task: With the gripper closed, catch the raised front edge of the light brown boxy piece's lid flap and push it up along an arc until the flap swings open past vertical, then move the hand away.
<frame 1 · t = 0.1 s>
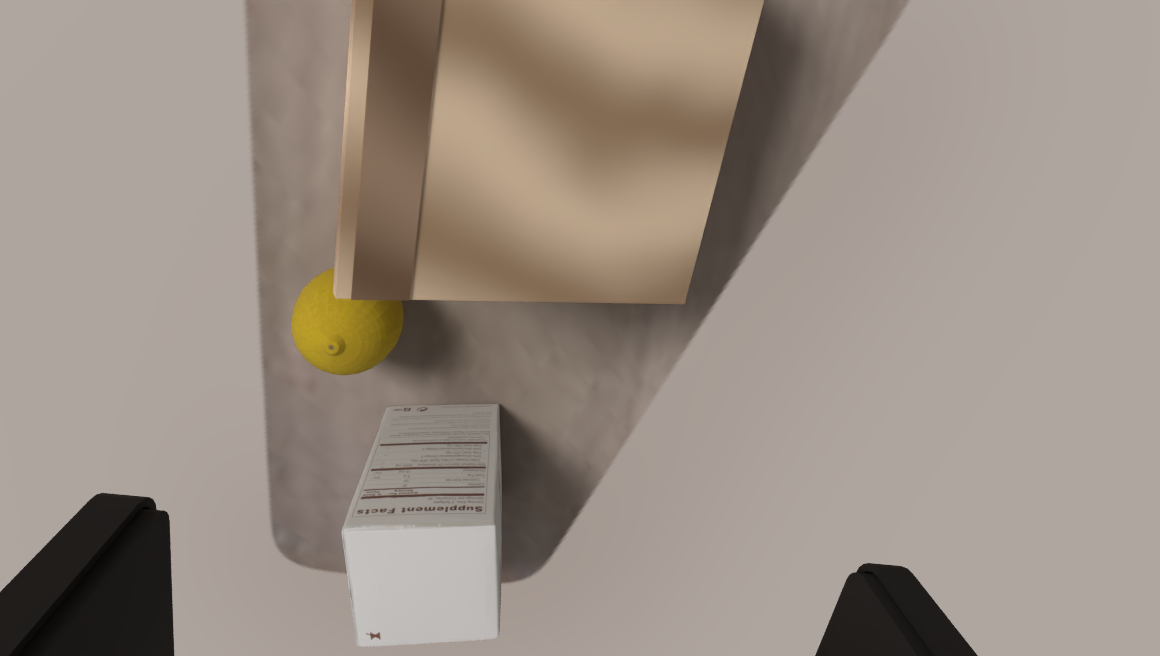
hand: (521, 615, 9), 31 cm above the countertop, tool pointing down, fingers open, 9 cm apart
lid flap: (570, 81, 24), point 13 cm above the countertop, hinge at 22.0°
lemon: (365, 293, 39), on the countertop
supplement box: (447, 448, 44), on the countertop
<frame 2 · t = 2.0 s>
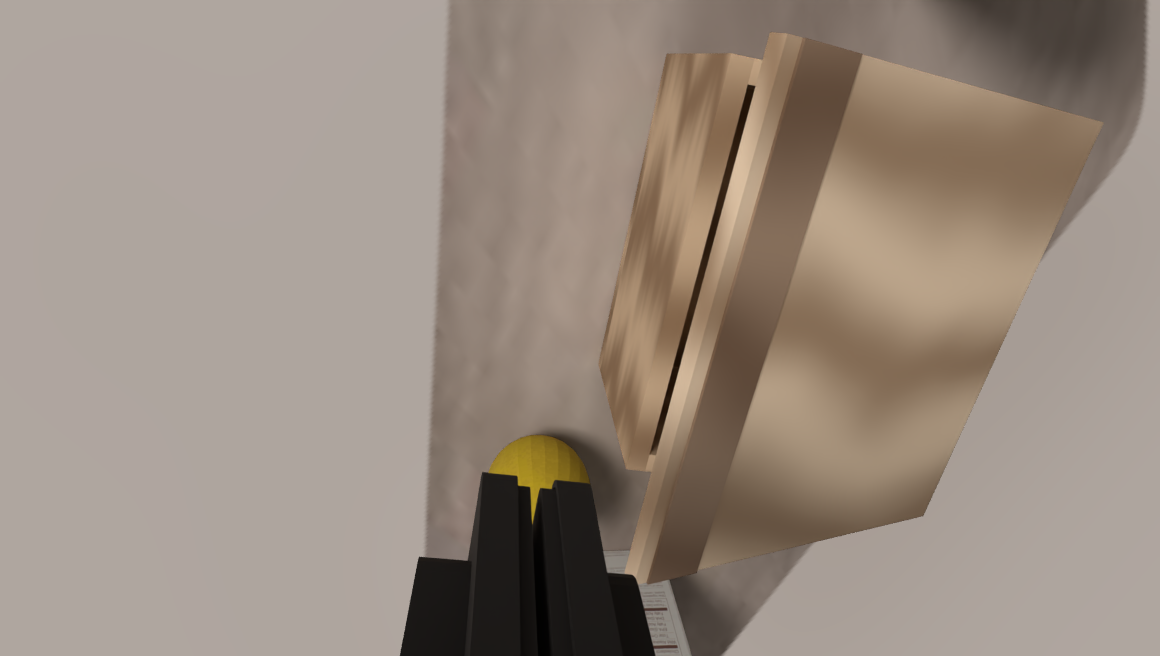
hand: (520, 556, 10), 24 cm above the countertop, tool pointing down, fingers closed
lid flap: (869, 344, 22), point 13 cm above the countertop, hinge at 22.0°
light brown boxy piece: (750, 242, 34), on the countertop
lemon: (535, 449, 38), on the countertop
supplement box: (602, 590, 43), on the countertop
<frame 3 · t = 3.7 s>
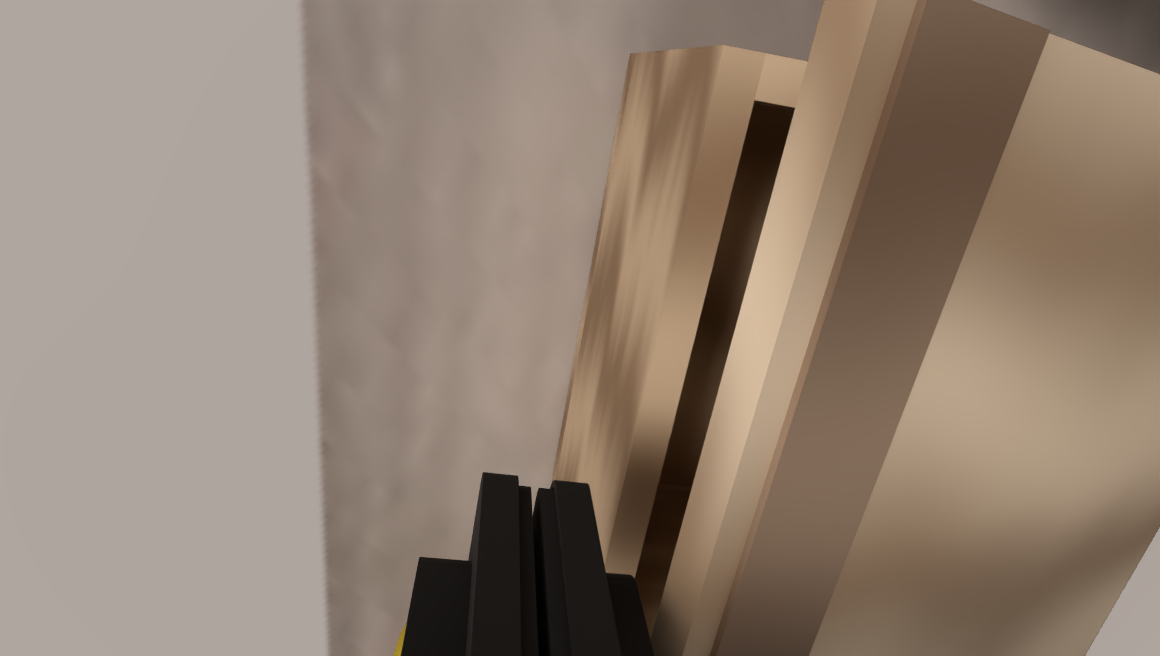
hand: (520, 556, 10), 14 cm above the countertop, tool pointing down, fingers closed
lid flap: (985, 559, 12), point 13 cm above the countertop, hinge at 22.5°, touching gripper
light brown boxy piece: (757, 314, 25), on the countertop
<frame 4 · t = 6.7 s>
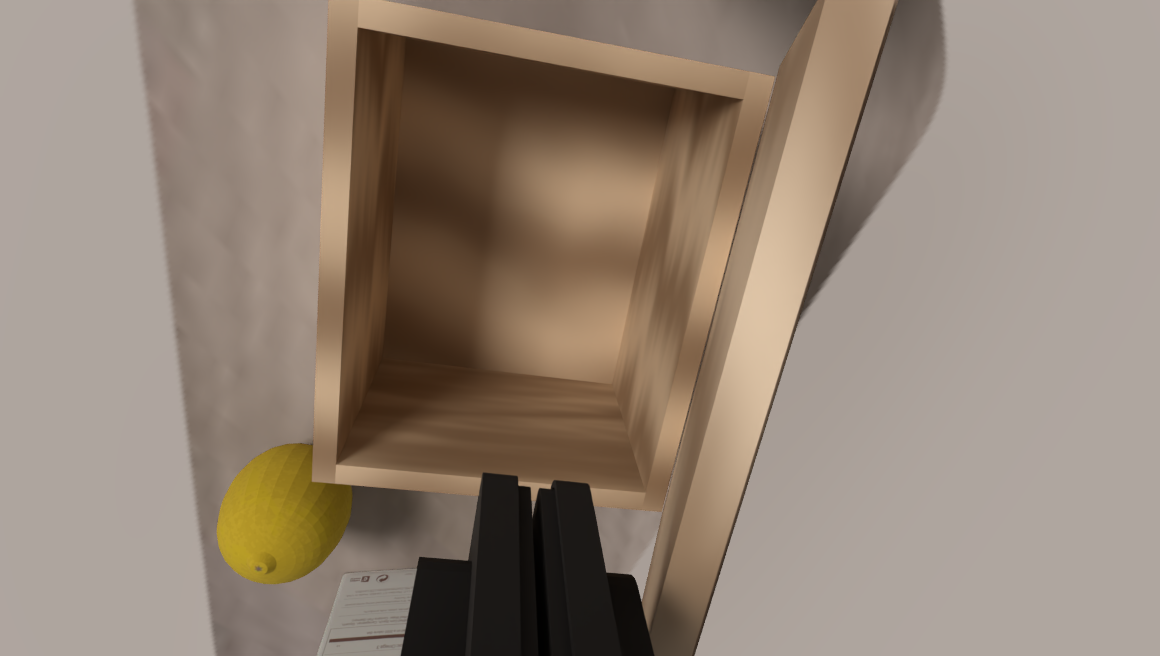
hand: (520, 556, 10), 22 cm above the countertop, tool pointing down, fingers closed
lid flap: (708, 418, 16), point 17 cm above the countertop, hinge at 70.1°, touching gripper
light brown boxy piece: (520, 226, 31), on the countertop
lemon: (313, 459, 35), on the countertop
supplement box: (413, 611, 39), on the countertop
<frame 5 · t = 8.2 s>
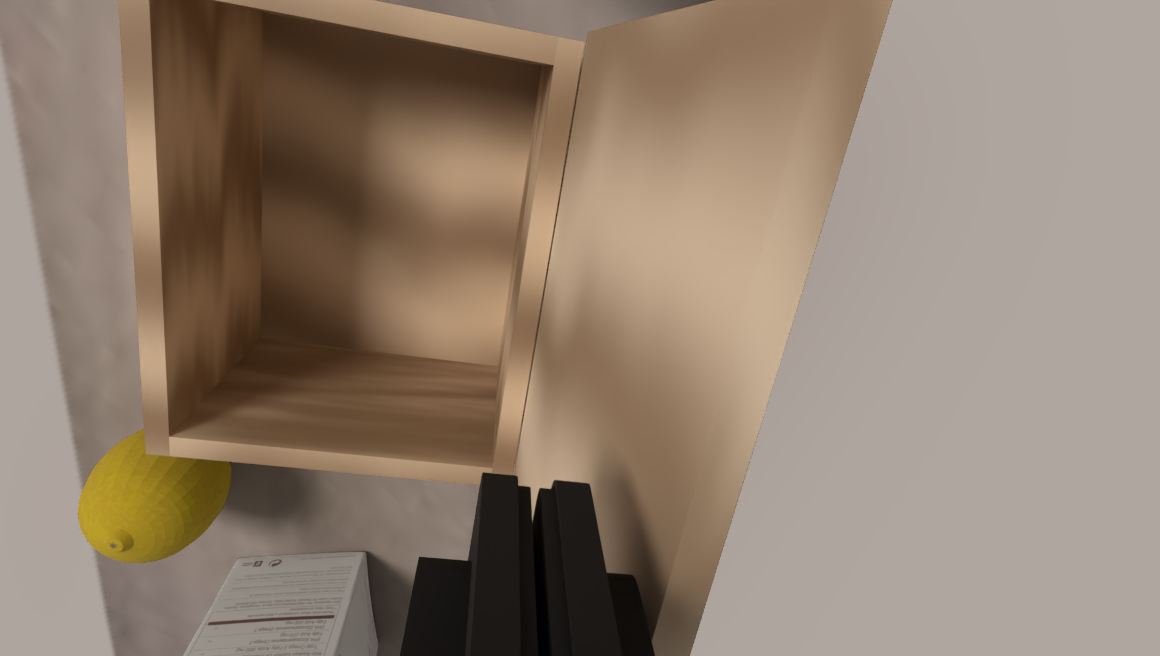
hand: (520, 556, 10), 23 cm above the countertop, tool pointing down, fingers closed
lid flap: (588, 394, 16), point 17 cm above the countertop, hinge at 92.9°, touching gripper
light brown boxy piece: (396, 205, 31), on the countertop
lemon: (199, 441, 35), on the countertop
supplement box: (312, 598, 39), on the countertop
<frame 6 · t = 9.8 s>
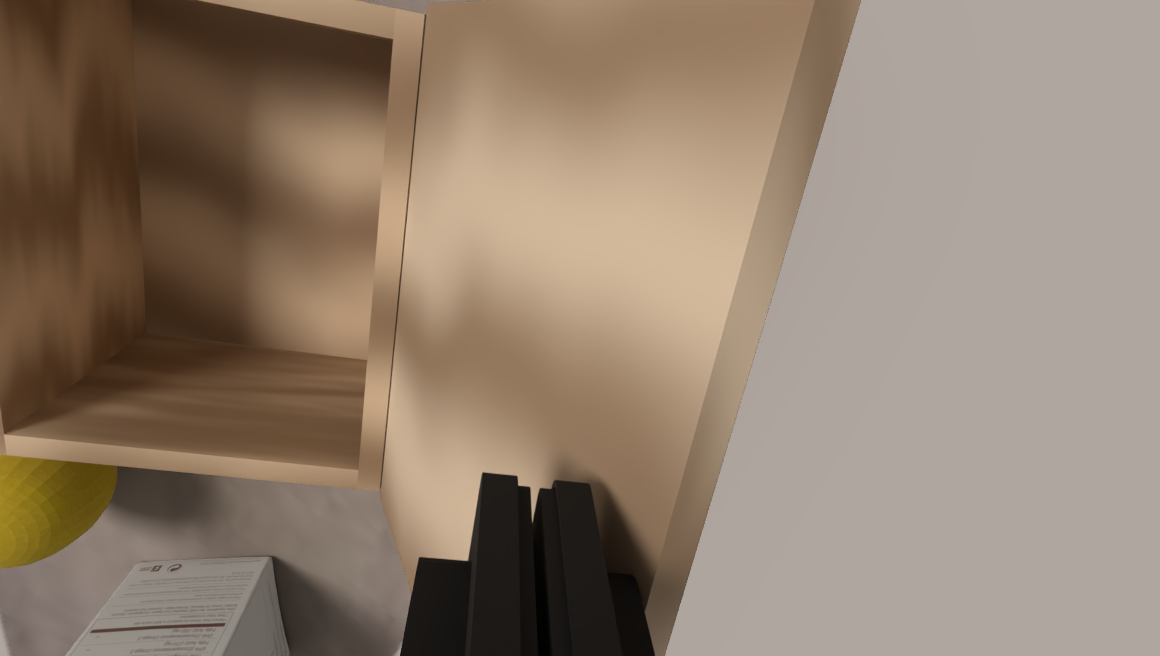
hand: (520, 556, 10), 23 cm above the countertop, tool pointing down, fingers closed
lid flap: (486, 390, 15), point 17 cm above the countertop, hinge at 110.9°, touching gripper
light brown boxy piece: (286, 195, 30), on the countertop
lemon: (91, 440, 33), on the countertop
supplement box: (219, 604, 38), on the countertop
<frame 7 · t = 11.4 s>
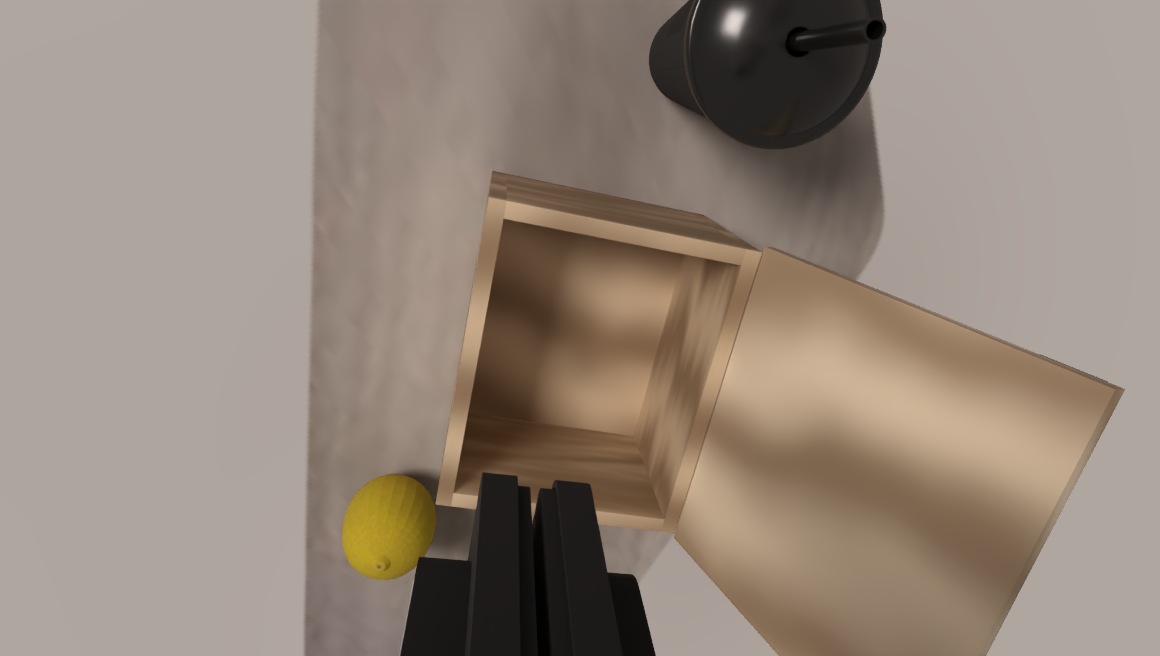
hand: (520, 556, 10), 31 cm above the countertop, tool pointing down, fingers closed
lid flap: (831, 486, 28), point 17 cm above the countertop, hinge at 111.0°
light brown boxy piece: (572, 318, 42), on the countertop
drinking cup: (689, 59, 38), on the countertop
lemon: (400, 486, 45), on the countertop
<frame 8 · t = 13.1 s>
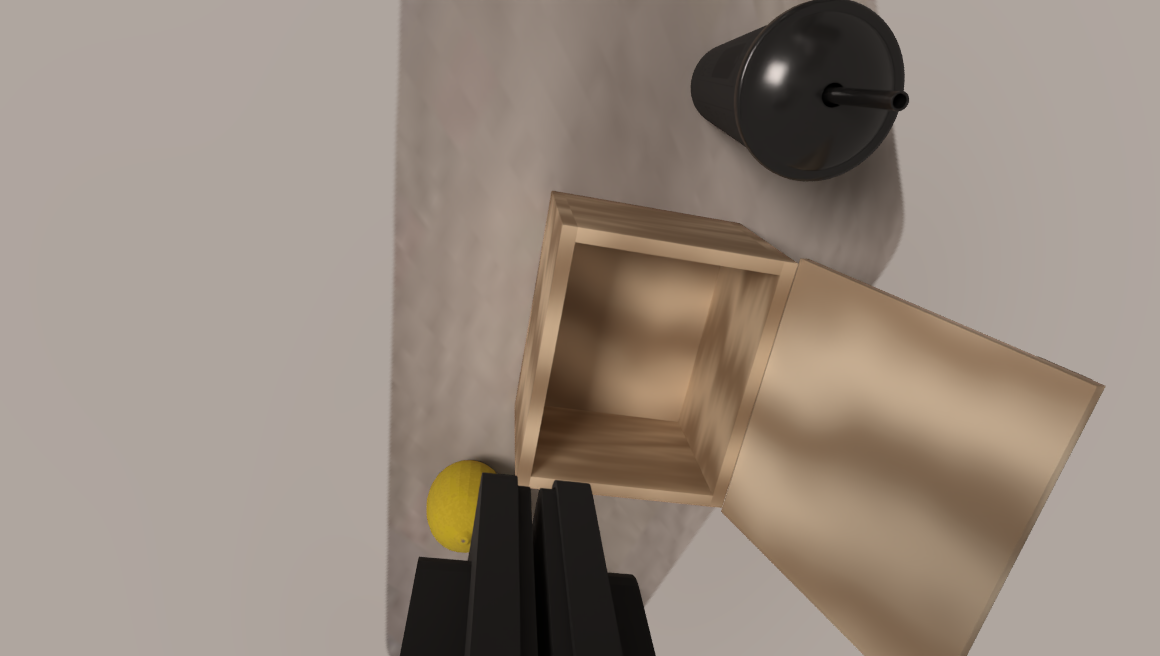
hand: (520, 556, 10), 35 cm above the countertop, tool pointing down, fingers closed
lid flap: (862, 465, 33), point 17 cm above the countertop, hinge at 111.0°
light brown boxy piece: (622, 318, 47), on the countertop
drinking cup: (727, 85, 42), on the countertop
lemon: (470, 470, 51), on the countertop
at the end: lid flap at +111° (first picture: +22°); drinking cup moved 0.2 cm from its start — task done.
